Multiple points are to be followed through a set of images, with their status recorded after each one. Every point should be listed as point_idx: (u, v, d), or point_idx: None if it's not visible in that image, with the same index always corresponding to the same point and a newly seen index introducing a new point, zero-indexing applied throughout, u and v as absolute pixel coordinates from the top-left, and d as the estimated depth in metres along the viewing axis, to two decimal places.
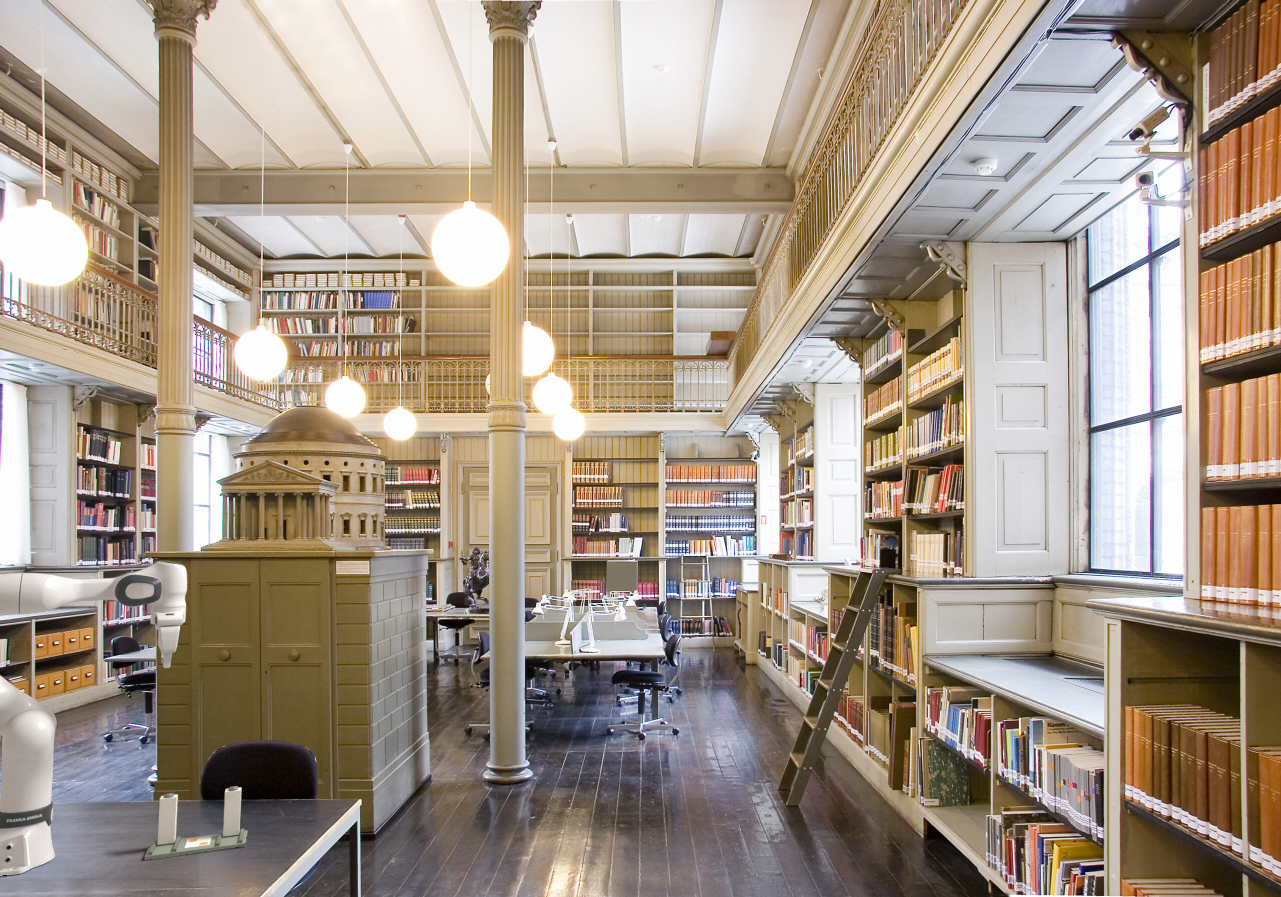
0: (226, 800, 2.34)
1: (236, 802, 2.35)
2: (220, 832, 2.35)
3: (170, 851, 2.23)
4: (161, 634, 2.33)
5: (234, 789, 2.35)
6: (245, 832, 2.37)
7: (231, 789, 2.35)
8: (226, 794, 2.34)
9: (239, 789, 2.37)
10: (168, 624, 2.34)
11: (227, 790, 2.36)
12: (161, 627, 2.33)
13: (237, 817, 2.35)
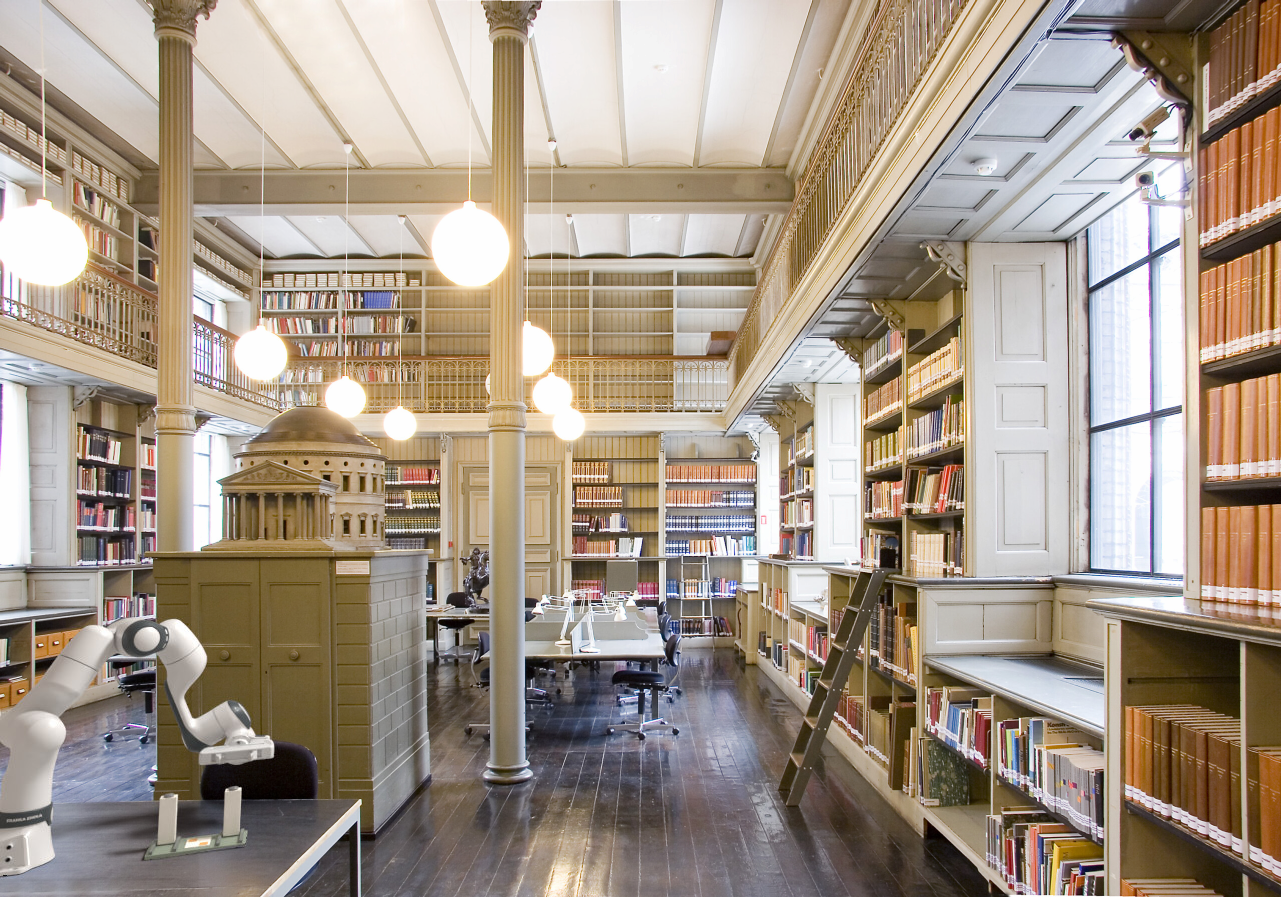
0: (226, 800, 2.34)
1: (236, 802, 2.35)
2: (220, 832, 2.35)
3: (170, 851, 2.23)
4: (272, 741, 2.56)
5: (234, 789, 2.35)
6: (245, 832, 2.37)
7: (231, 789, 2.35)
8: (226, 794, 2.34)
9: (239, 789, 2.37)
10: None
11: (227, 790, 2.36)
12: None
13: (237, 817, 2.35)
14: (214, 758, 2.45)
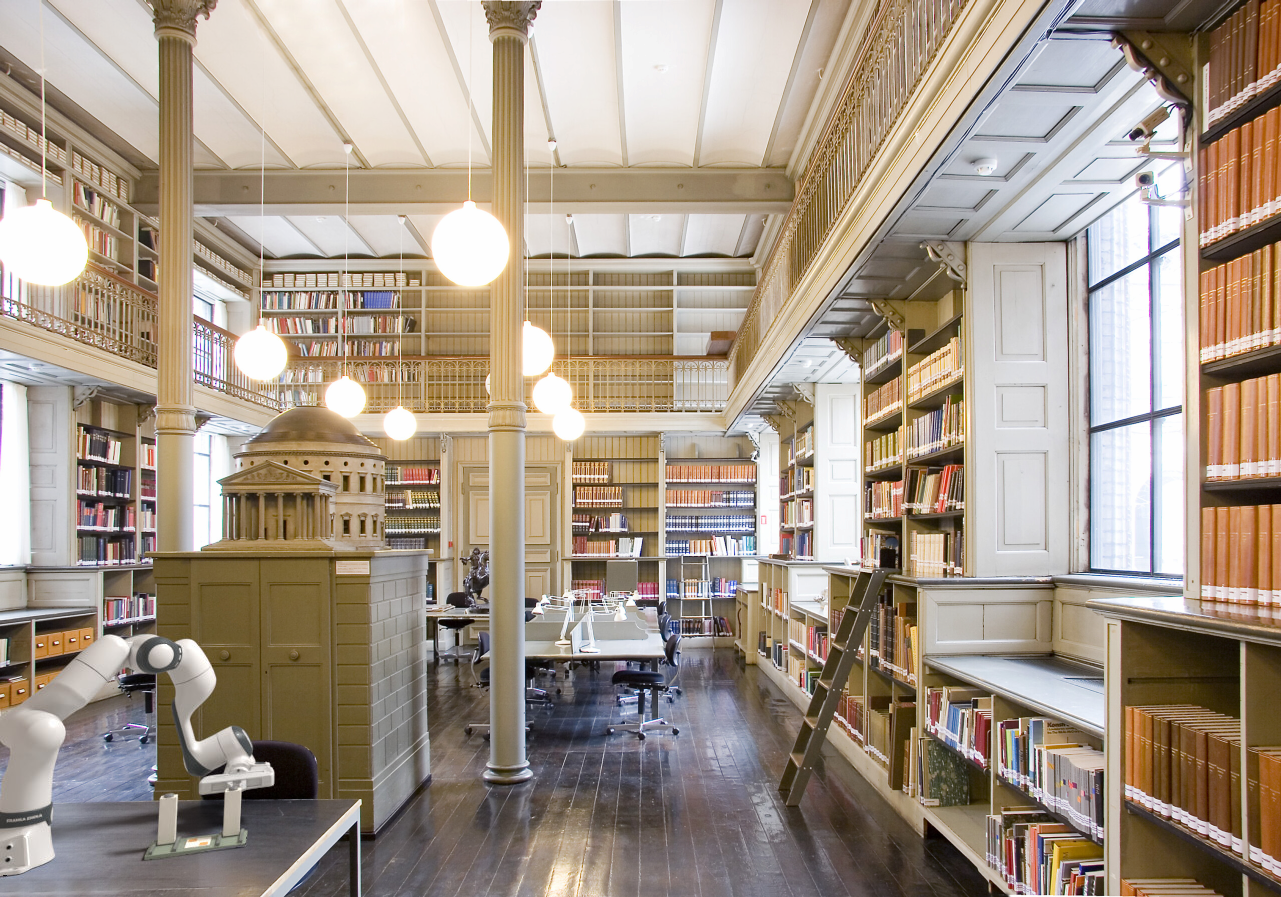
0: (226, 800, 2.34)
1: (236, 802, 2.35)
2: (220, 832, 2.35)
3: (170, 851, 2.23)
4: (272, 769, 2.55)
5: (234, 789, 2.35)
6: (245, 832, 2.37)
7: (231, 789, 2.35)
8: (226, 794, 2.34)
9: (239, 789, 2.37)
10: None
11: (227, 790, 2.36)
12: None
13: (237, 817, 2.35)
14: (214, 787, 2.45)
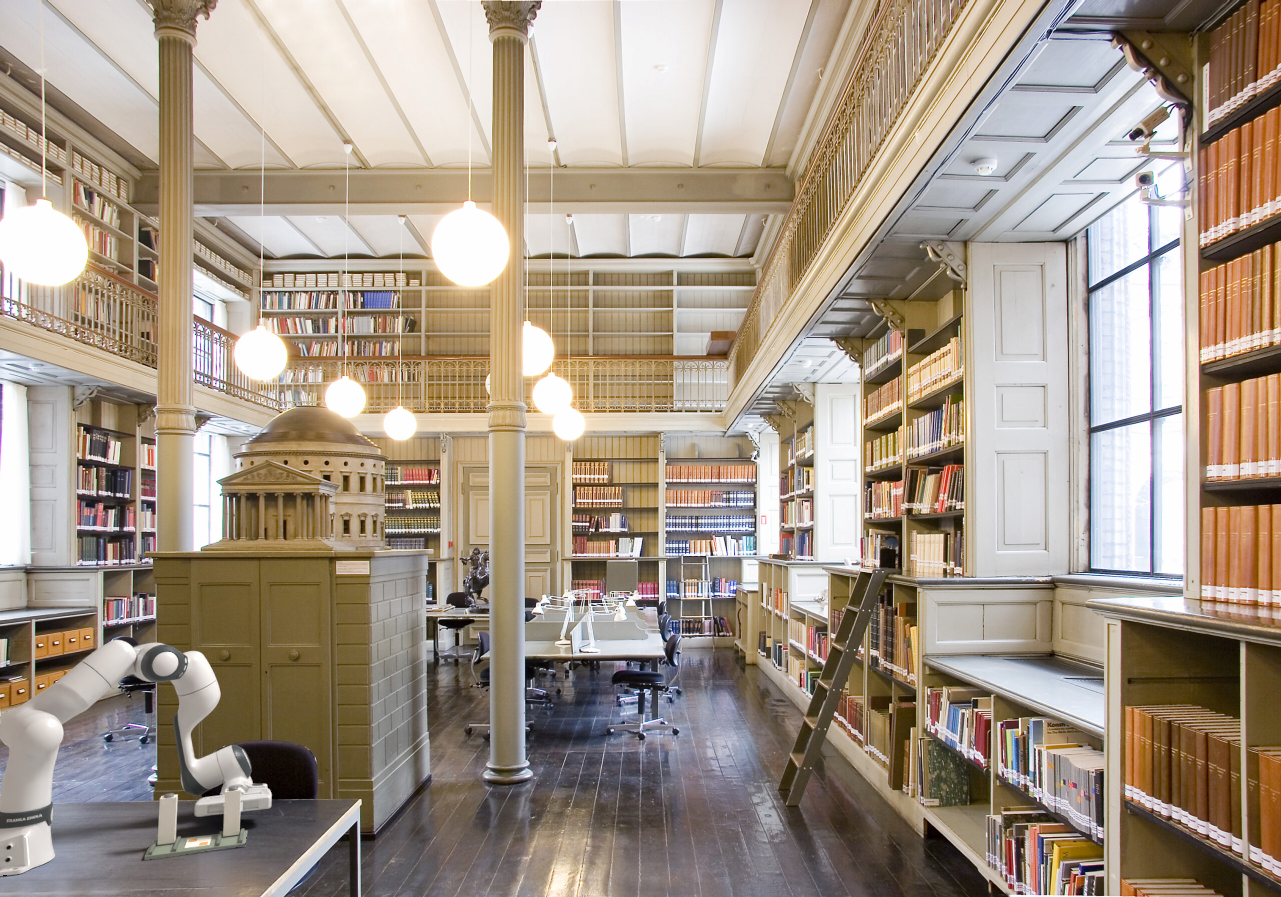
0: (226, 800, 2.34)
1: (236, 802, 2.35)
2: (220, 832, 2.35)
3: (170, 851, 2.23)
4: None
5: (234, 789, 2.35)
6: (245, 832, 2.37)
7: (231, 789, 2.35)
8: (226, 794, 2.34)
9: (239, 789, 2.36)
10: None
11: (227, 790, 2.36)
12: None
13: (237, 817, 2.35)
14: (210, 809, 2.40)
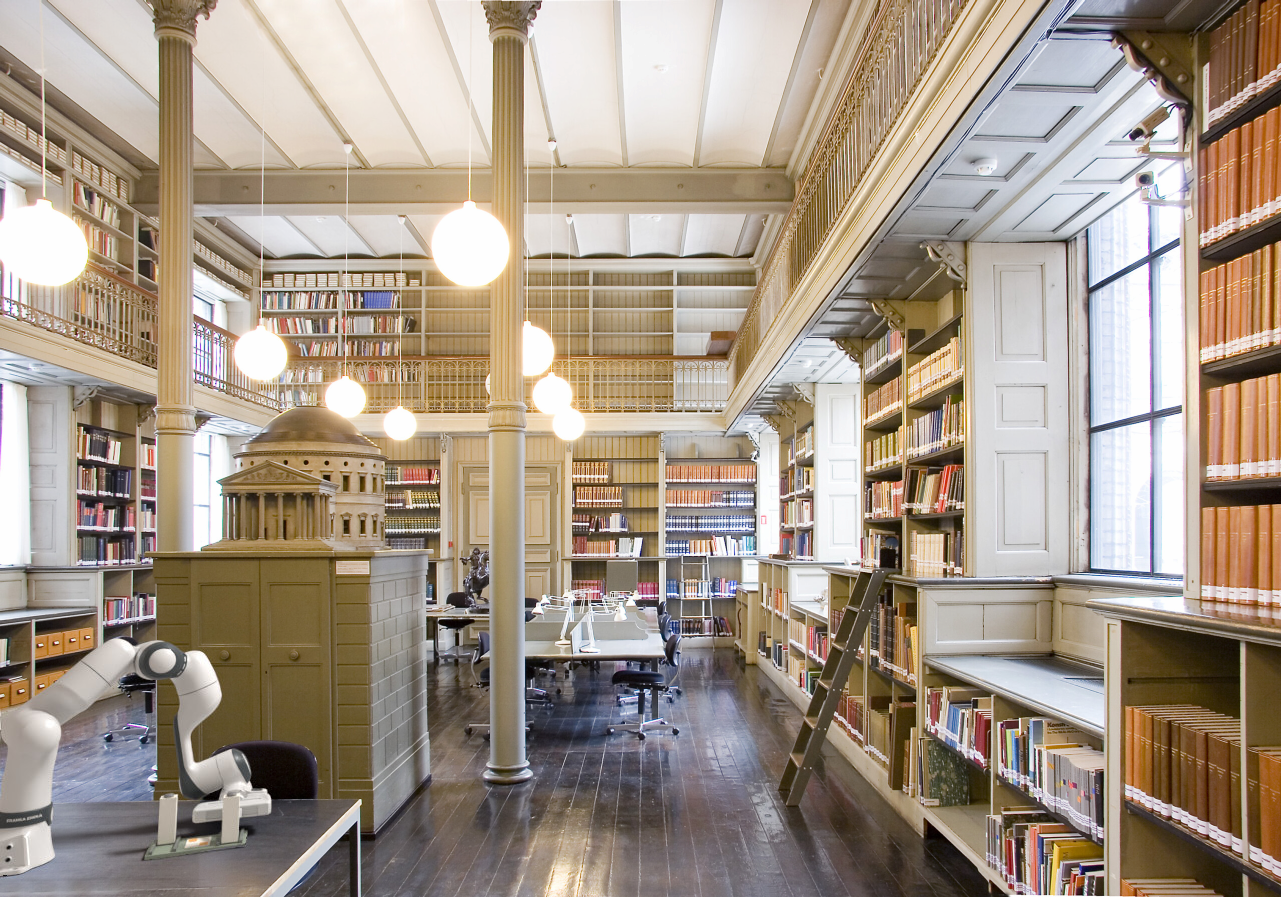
0: (224, 806, 2.29)
1: (235, 808, 2.30)
2: (220, 832, 2.35)
3: (170, 851, 2.23)
4: (269, 796, 2.45)
5: (233, 795, 2.30)
6: (245, 832, 2.37)
7: (229, 795, 2.30)
8: (224, 800, 2.29)
9: (238, 795, 2.31)
10: None
11: (225, 796, 2.30)
12: None
13: (236, 824, 2.29)
14: (208, 815, 2.34)
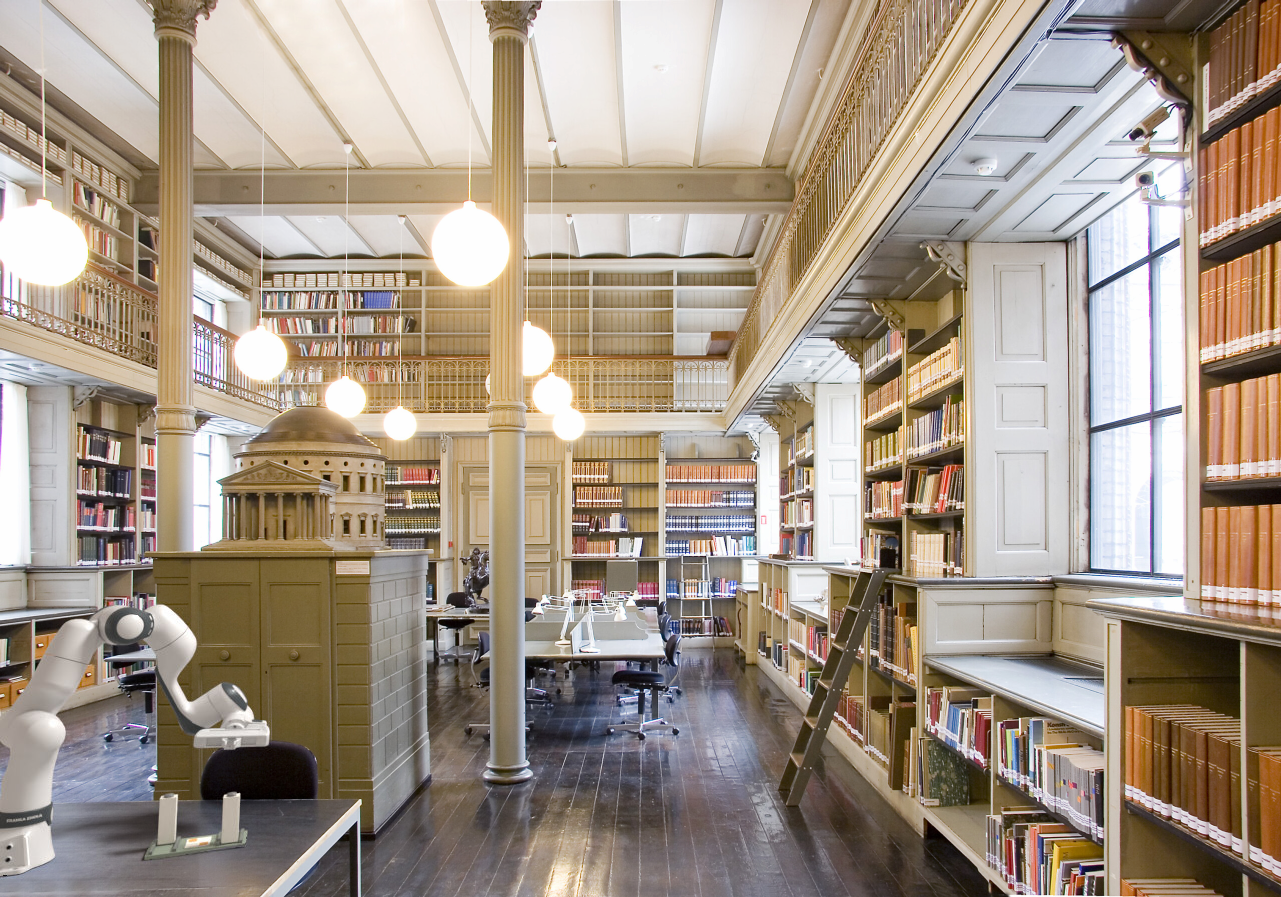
0: (224, 806, 2.29)
1: (235, 808, 2.30)
2: (220, 832, 2.35)
3: (170, 851, 2.23)
4: (268, 728, 2.53)
5: (233, 795, 2.30)
6: (245, 832, 2.37)
7: (229, 795, 2.30)
8: (224, 800, 2.29)
9: (238, 795, 2.31)
10: None
11: (225, 796, 2.30)
12: None
13: (236, 824, 2.29)
14: (209, 742, 2.44)
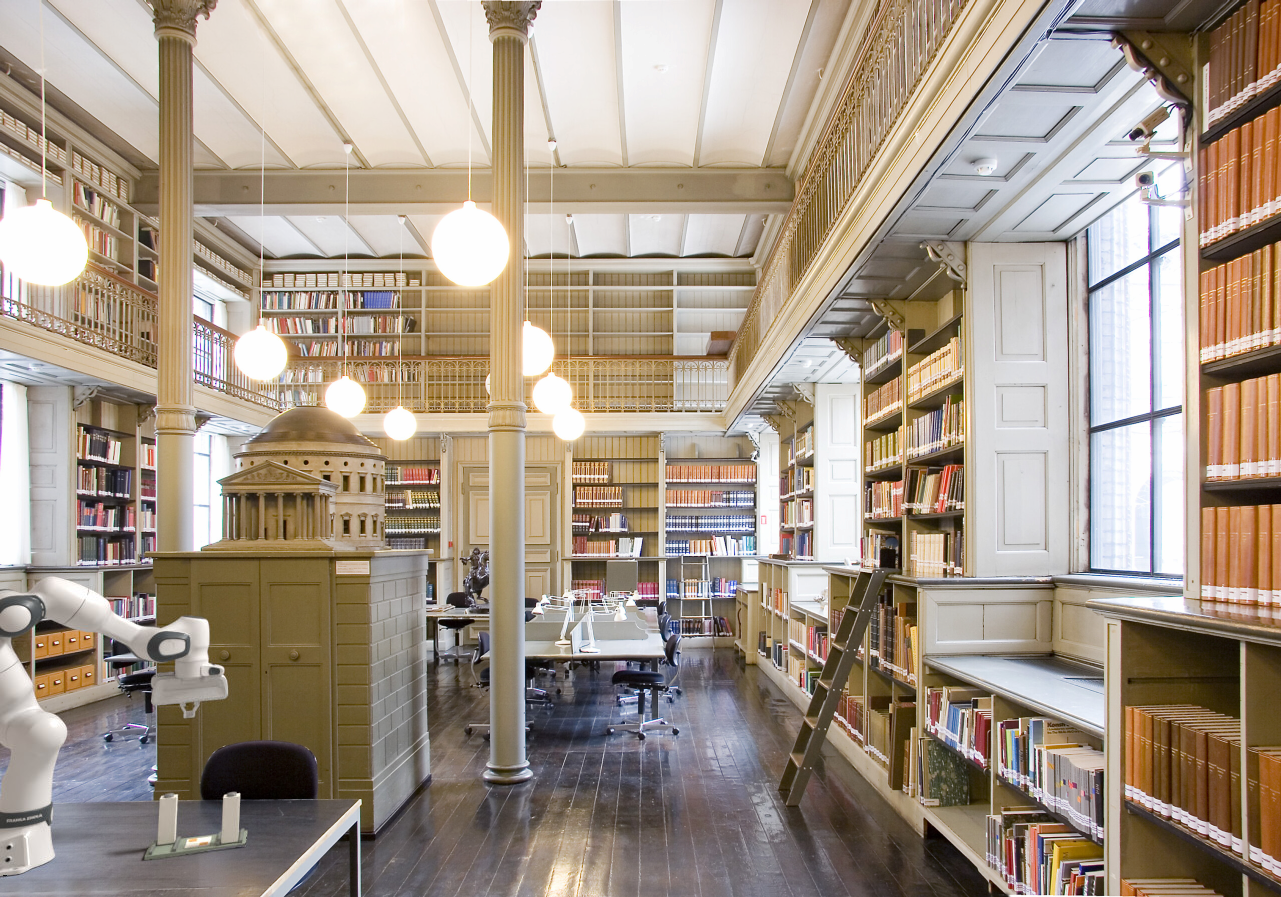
0: (224, 806, 2.29)
1: (235, 808, 2.30)
2: (220, 832, 2.35)
3: (170, 851, 2.23)
4: (226, 681, 2.54)
5: (233, 795, 2.30)
6: (245, 832, 2.37)
7: (229, 795, 2.30)
8: (224, 800, 2.29)
9: (238, 795, 2.31)
10: None
11: (225, 796, 2.30)
12: (223, 675, 2.53)
13: (236, 824, 2.29)
14: None
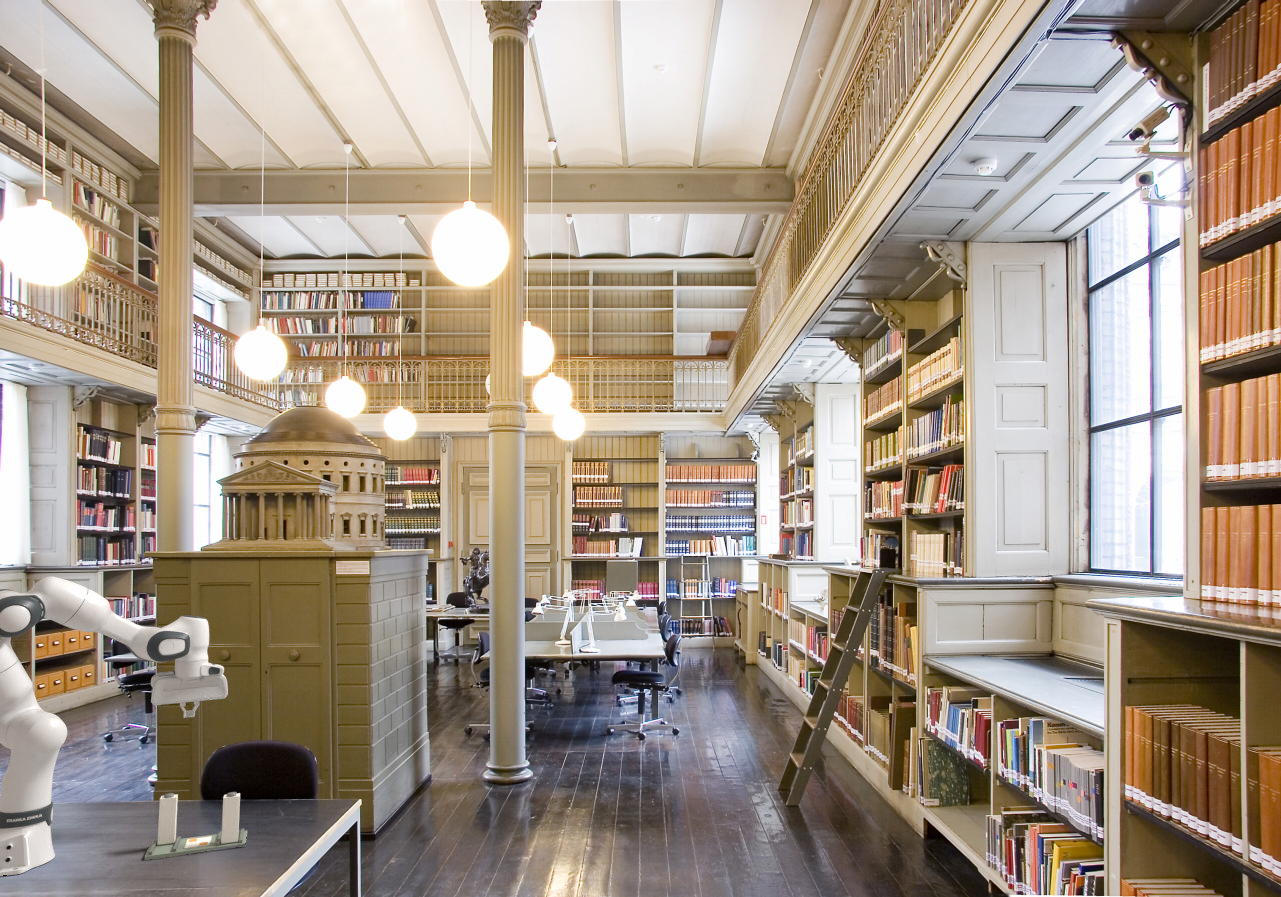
0: (224, 806, 2.29)
1: (235, 808, 2.30)
2: (220, 832, 2.35)
3: (170, 851, 2.23)
4: (226, 681, 2.54)
5: (233, 795, 2.30)
6: (245, 832, 2.37)
7: (229, 795, 2.30)
8: (224, 800, 2.29)
9: (238, 795, 2.31)
10: None
11: (225, 796, 2.30)
12: (223, 675, 2.53)
13: (236, 824, 2.29)
14: None
